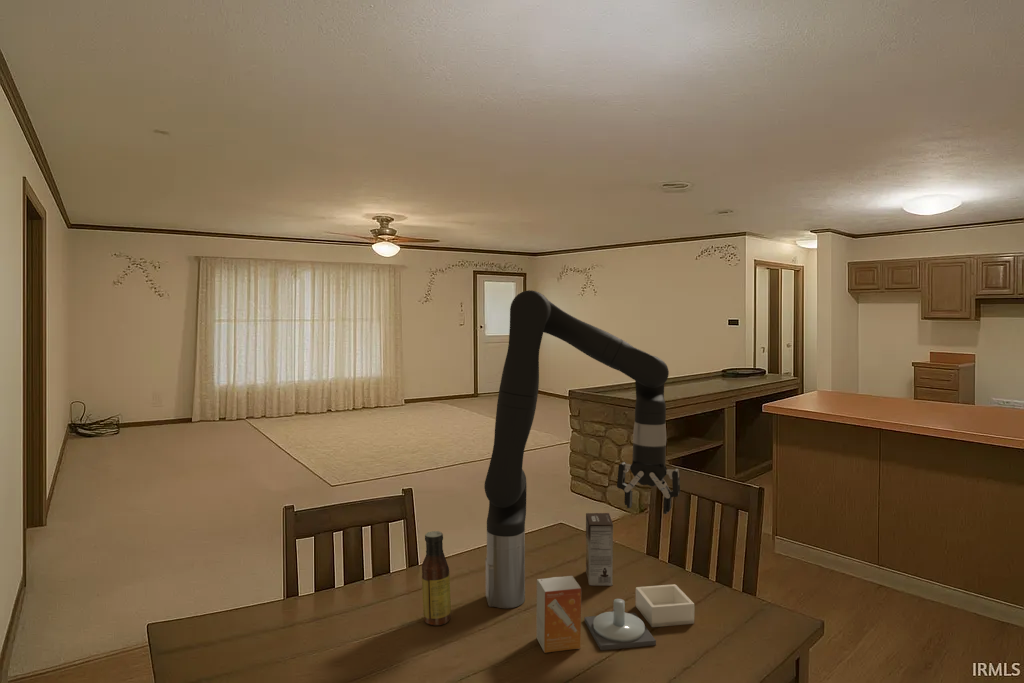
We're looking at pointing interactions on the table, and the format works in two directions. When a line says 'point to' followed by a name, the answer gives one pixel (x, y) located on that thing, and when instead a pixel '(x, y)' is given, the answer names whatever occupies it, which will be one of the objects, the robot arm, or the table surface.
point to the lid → (619, 624)
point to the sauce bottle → (435, 581)
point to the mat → (609, 644)
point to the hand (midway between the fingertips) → (647, 510)
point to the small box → (558, 613)
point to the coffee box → (599, 548)
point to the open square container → (664, 605)
